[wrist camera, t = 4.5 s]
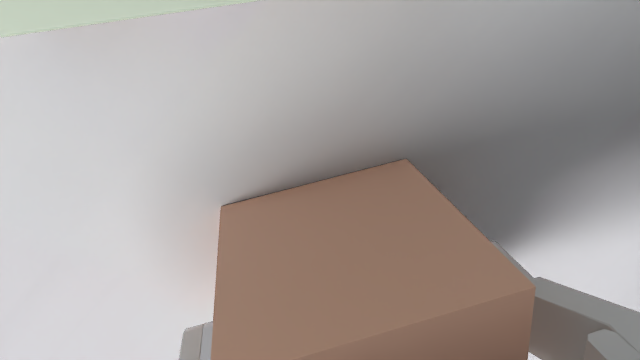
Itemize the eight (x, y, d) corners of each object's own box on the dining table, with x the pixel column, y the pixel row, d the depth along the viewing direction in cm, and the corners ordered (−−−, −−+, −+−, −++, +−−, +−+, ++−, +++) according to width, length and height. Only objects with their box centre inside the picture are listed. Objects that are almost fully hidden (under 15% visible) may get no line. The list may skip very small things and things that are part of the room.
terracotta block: (417, 294, 14) (515, 458, 9) (268, 338, 13) (287, 537, 8) (406, 158, 11) (536, 286, 6) (220, 206, 11) (208, 384, 6)
